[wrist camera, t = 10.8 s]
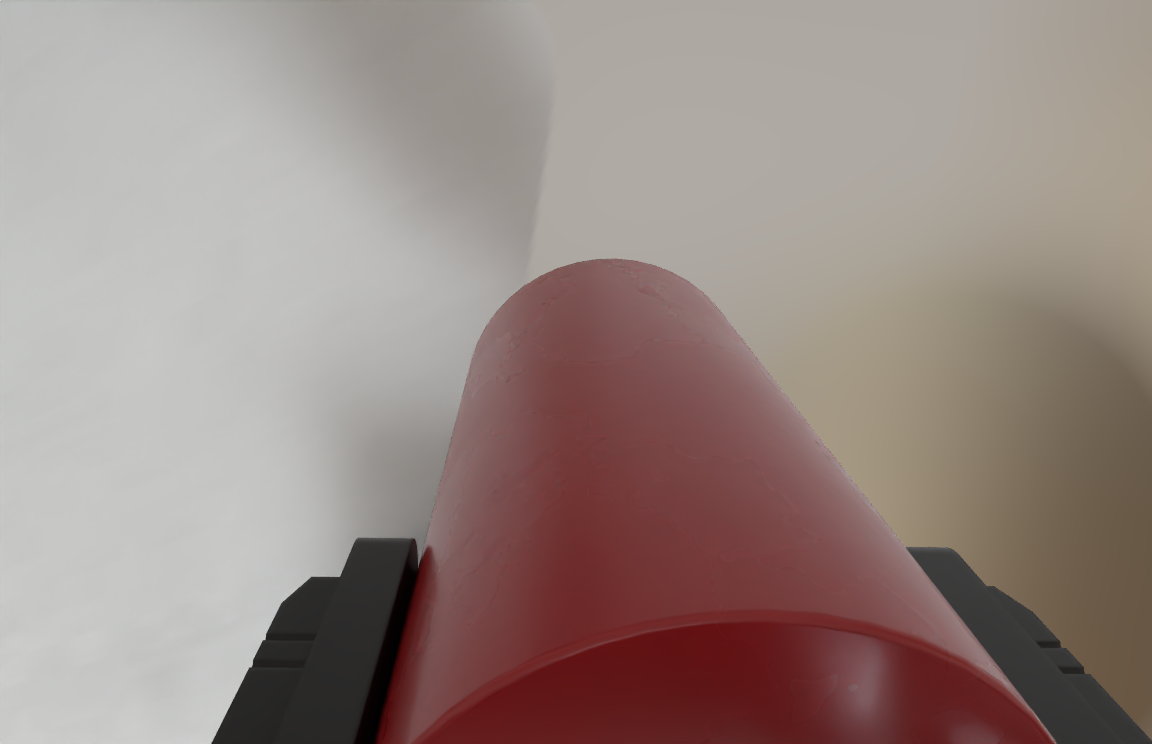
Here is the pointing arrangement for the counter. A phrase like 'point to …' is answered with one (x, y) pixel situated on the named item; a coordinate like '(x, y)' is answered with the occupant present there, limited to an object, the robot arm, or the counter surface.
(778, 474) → the can
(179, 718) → the counter surface
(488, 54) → the counter surface
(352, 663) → the robot arm
